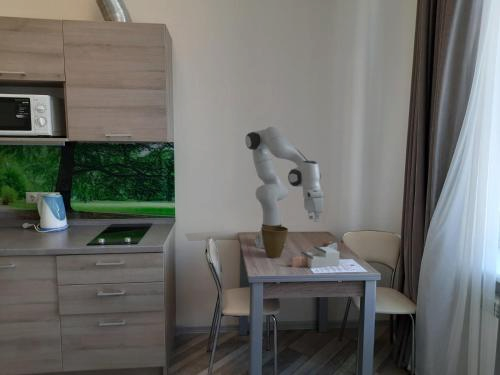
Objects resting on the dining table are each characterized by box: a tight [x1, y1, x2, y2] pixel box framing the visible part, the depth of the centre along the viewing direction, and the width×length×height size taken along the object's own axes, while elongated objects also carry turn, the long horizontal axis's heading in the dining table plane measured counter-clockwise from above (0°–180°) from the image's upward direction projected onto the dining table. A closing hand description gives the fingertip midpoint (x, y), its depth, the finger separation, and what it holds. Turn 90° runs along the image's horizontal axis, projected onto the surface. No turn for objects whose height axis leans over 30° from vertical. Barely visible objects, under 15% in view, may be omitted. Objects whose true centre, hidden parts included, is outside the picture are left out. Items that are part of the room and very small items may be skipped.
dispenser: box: [300, 245, 341, 269], centre depth 175 cm, size 11×16×8 cm
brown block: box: [290, 255, 315, 268], centre depth 173 cm, size 2×13×4 cm, turn 108°
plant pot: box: [260, 225, 289, 259], centre depth 187 cm, size 15×15×16 cm
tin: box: [321, 239, 339, 251], centre depth 189 cm, size 15×3×8 cm, turn 137°
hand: (313, 220), depth 169 cm, fingers open, 8 cm apart
